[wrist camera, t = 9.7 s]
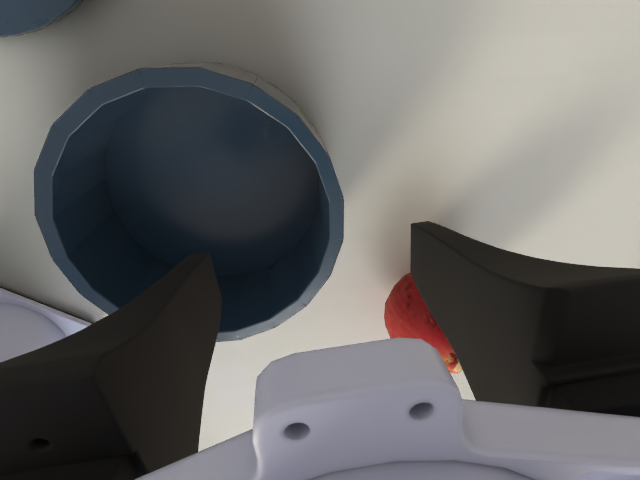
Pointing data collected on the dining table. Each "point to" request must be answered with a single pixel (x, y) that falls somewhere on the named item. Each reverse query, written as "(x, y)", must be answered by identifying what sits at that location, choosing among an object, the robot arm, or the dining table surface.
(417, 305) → the red round fruit
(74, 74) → the dining table surface
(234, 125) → the pot
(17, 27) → the pot lid
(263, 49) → the dining table surface
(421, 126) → the dining table surface
